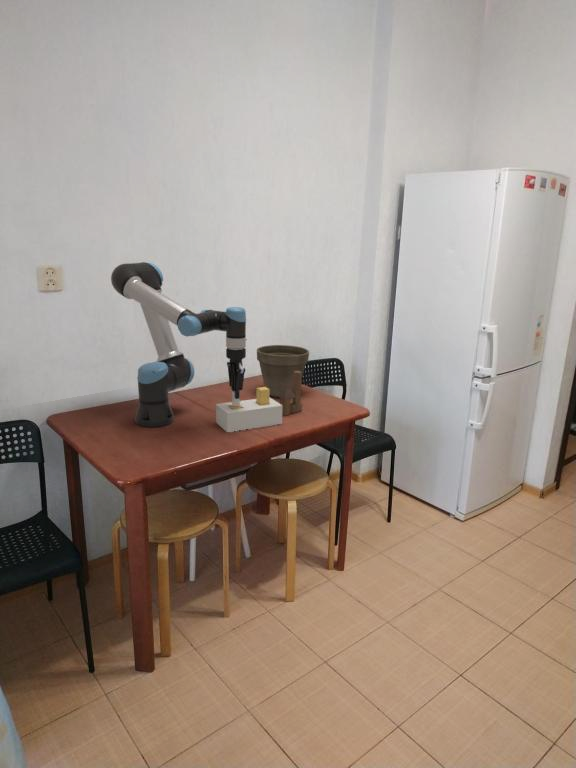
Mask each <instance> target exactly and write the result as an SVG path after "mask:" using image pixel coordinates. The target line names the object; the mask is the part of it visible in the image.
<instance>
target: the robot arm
mask: <svg viewBox="0 0 576 768" xmlns="http://www.w3.org/2000/svg"><path fill="white" fill-rule="evenodd" d="M110 275H111V277H110V281H111V286H112V287H113V289H114V290H115V291H116V292H117V294H119V295H120V296H122V297H124V298H126V299H127V300H132V299H133V300H134V301H135V302H137V303H138V304H140V307H141V310H142V313H143V316H144V319H145V322H146V324H147V327H148V331H149V334H150V336H151V339H152V342H153V345H154V347H155V352H156V354H157V360H156V361H153V362H147V363H144V364H142V365H141V366H139V368H138V370H137V377H136V378H137V386H138V387H137V388H138V389H137V390H138V406H137V409H136V413H135V417H134V418H135V424H136V425H138V426H141V427H146V428H158V427H165V426H168V425H170V424H172V423H173V422H174V420H175V419H174V417H175V415H174V412H173V410H172V407H171V405H170V400H169V399H170V398H169V396H170V395H169V393H170V392H172V391H175V390H177V389H180V388H181V389H182V388H184V387H185V386H188V385H190V383H192V382H193V379H194V377H195V367H194V364H193V363H192V361H191V360H190V359H188V358H186V357H185V355H184V353H183V352H182V351H180V350H179V349H178V345H177V343H176V339H175V337H174V334H173V331H172V328H171V325H170V323H171V324H174V325H175V326H176V327H177V328H178V329H177V330H178V331H179V332H180V334H181V335H182V336H185V337H195V336H198V335H201V334H205V333H209V332H214V331H219V332H220V331H221V332H225V347H226V350H225V352H226V353H225V355H226V356H225V357H226V358H227V359H229V361H227V362H226V365H227V366H226V367H227V371H228V372H227V374H228V384H229V387H230V388H231V402H232V406H233V407H234V406H240V401H241V398H240V397H241V393H240V392H241V391H243V388H244V378H245V374H246V368H245V367H243V360H244V359H246V357H247V355H246V354H247V353H246V352H247V351H246V350H247V349H246V346H247V345H246V341H247V338H246V336H247V335H246V332H247V330H246V329H247V328H246V327H247V326H246V325H247V317H246V316H247V314H246V312H247V311H246V310H245V309H246V308H243V307H239V306H229V307H227V308H225V309H226V310H225V311H222V310H213V309H202V310H201V311H200V312H198V313H195V312H193V311H192V310H190V309H188V307H187V308H186V307H185V306H183V305H181V304H180V303H178V302H177V301H175V300H174V299H172V298H170V297H168V296H166V295H165V294H164V293H162V292H163V291H162V288H161V287H162V286H163V282H164V276H163V272H162V271H161V269H160V268H159V267H158V265H156V264H154V263H152V262H146V261H142V262H134V263H133V262H132V263H121V264H119V265H117V266H116V267H115V268H114V269H113V271H112V272H111V274H110Z"/></svg>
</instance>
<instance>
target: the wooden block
mask: <svg viewBox="0 0 576 768" xmlns="http://www.w3.org/2000/svg"><path fill="white" fill-rule="evenodd" d="M301 376H303V375H302V372H301V371H294V372H293V392H292V391H291V390H290V389H289V388H288V387H287V385H286V384H283V383H280V394H279V397H278V398H279V400H278V401H279V402H278V403H279V404H281V405H283V407H282V417H283V416H284V417H286V416H290V415H291V414H295V413H299V412H302V410H303V403H302V402H301V401H302V400H301V398H302V397H301V396H302V378H301Z"/></svg>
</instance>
